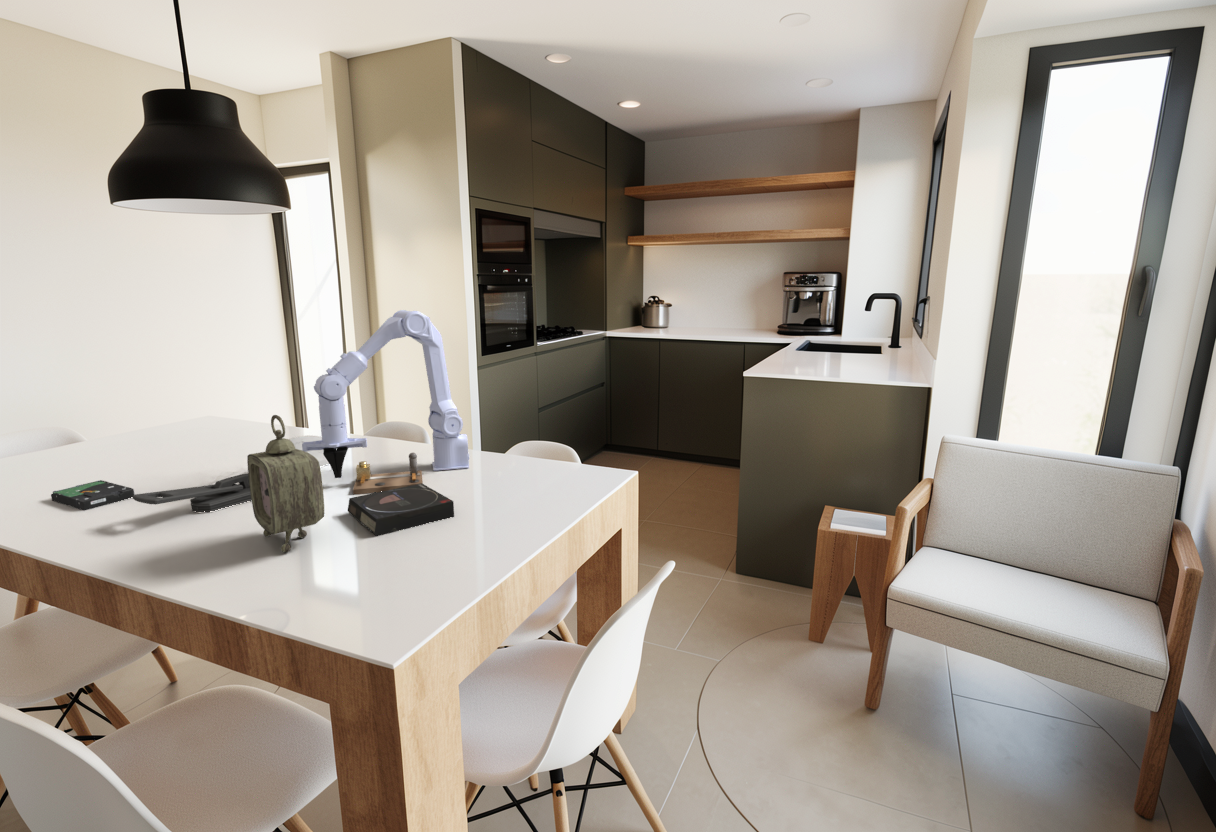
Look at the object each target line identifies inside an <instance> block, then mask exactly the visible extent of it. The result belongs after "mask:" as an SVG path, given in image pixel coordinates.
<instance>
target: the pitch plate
mask: <svg viewBox="0 0 1216 832" xmlns="http://www.w3.org/2000/svg"><path fill="white" fill-rule="evenodd" d="M417 455H418V454H416V453H415V452H410V453H409V454H408V460H409V471H397V472H385V473H383V472H382V473H373V474H371V476H370V479H365V482H364V483H360V482H361V480H357V476H356V478H355V482H354V485H353V488H352V494H353V495H366V494H372V493H374V492H376V493H377V492H381V491H387V490H391V489H396V488H401V487H406V486H411V485H416V484H420V483H422V484H424V483H423V470H421V469H420V470H418V461H417V459H418V456H417Z"/></svg>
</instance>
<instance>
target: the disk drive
mask: <svg viewBox="0 0 1216 832" xmlns="http://www.w3.org/2000/svg"><path fill="white" fill-rule="evenodd" d="M133 495H136V494H135V489H134V488H132V487H129V486H125V485H121V484H117V483H113V482H109V481H106V480H103V479H102V480H96V481H92V482H86V483H83V484H78V485H75V486H71V487H66V488H63V489H58V490H54V491H52V493H51V494H50V497H51V501H52V502H56V504H57V503H59V504H62V505H65V506H69V507H72V508H75V509H78V510H81V511H87V510H92V509H95V508H99V507H103V506H107V505H111V504H115V503H118V501H119V502H122V501H121V500H123V501H125V500H124V499H127V500H129V499H128V498H130V499H132V498H131V497H133ZM114 502H115V503H114Z"/></svg>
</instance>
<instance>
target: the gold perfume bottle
mask: <svg viewBox="0 0 1216 832" xmlns="http://www.w3.org/2000/svg"><path fill="white" fill-rule="evenodd" d="M367 462H368V461H365V460H363V461H359V462H358V464H356V468H355V472H356V477H357V480H361V482H360V483H364V482H365V479H370V476H371V472H372V471H371V463H367Z"/></svg>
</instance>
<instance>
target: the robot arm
mask: <svg viewBox="0 0 1216 832" xmlns="http://www.w3.org/2000/svg"><path fill="white" fill-rule="evenodd" d="M406 337H409V338H411V339H413V340H414V341H416V342H418V344H421V345H422V350H423V358H424V363H425V364H424V365H425V369H426V375H427V376H426V377H427V381H428V387H429V392H430V393H429V394H430V401H431V402H430V404H429V407H428V408H429V416H428V420H427V422H428V425H429V427H430V429H431V430H432V448H433V449H432V450H433V461H432V462H431V464H432V470H433V472H434V471H437V472H438V471H444V470H445V471H447V470H457V469H458V470H459V469H460V470H461V469H469V468H470V461H469V460H470V453H469V443H468V442H469V440H468V435H467V434H466V433H462V434H461V431H462V430H463V428H464V427H463V426H464V422H463V418H462V417H461V416H460V414H459V411H458V407H457V406H456V404H455V403H454V400H453V399H452V394H451V393H452V392H451V387H450V382H449V374H448V368H447V361H446V355H445V348H444V342H443V336H442V334H441V332H440V331H439V330H438V329H437V327H436V326H435V325H434V324H433V322H432V321H431V318H430V317H429V316H428V315H426V314H424V313H422V312H421V311H418V310H406V309H400V310H397V311H396V312H394V314H393V315H392V316H389V317H388V318H387V319H386V320H385V321H384V322H383V323H382V324H381V326H379V328H377V330H376V331H375V332H374V333H373V334H372V335H371V336H370V337H369V338H368V339H367V340H366V341H365V342H364V343H363V344H362V346H361V347H359V348H358V349H357V350H356V351H355V350H354V351H348V352H347V353H345V352H343V353H342V354H341V355H340V356H339V357H340V358H341V359H340V360H339V361H337V363H335V364H334V365H333V366H332V367H331V368H330V367H328V368H326V370H325V372H326V373H325V374H321V375H320V376H318V377H317V378H316V380H315V384H314V386H313V389H314V392H315V393H316V394H317V396H318V411H319V412H318V413H319V422H320V431H321V437H322V440H319V441H312V442H303V444H302V449H303V451H305V452H307V451H311V450H324V453H323V454H324V456H325V458H326V459H327V461H328V462H329V464H330V465H329V466H330V468H331V471H332V472H333V476H334V479H341V478H342V475H343V472H342V471H343V465H344V461H345V457H346V456H347V452H348V450H349V449H351V448H352V449H353V448H364V449H365V448H368V438H366V437H364V438H363V437H362V438H361V437H360V438H359V437H357V438H351V437H350V438H349V437H348V429H347V420H346V419H347V417H346V408H345V406H346V405H345V403H344V402H345V401H344V396H345V395H346V392H347V390H348V387H350V385H352V383H353V382H355V380H356V379H358V377H360V375H361V374H363V373H364V371H366V370H367V369H368V363H369V362H368V361H369V360H371V358H372V357H373V356H374V355H376V353H378V352H379V351H380V350H381V349H382V348H384V347H385V346H386V345H387V344H388V343H389V342H390V341H391V340H396V339H401V338H402V339H403V338H406Z"/></svg>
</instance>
